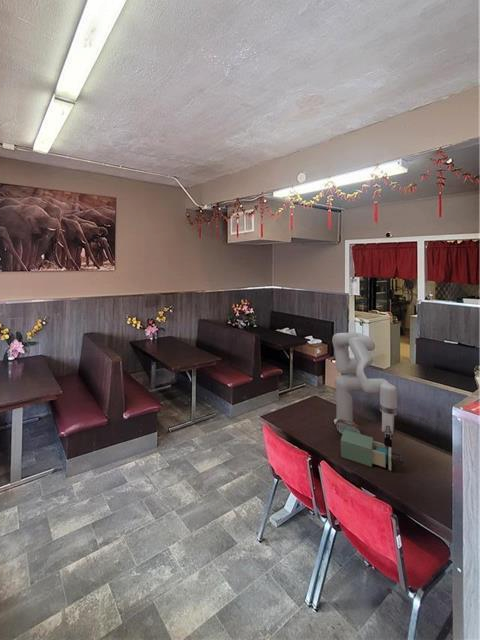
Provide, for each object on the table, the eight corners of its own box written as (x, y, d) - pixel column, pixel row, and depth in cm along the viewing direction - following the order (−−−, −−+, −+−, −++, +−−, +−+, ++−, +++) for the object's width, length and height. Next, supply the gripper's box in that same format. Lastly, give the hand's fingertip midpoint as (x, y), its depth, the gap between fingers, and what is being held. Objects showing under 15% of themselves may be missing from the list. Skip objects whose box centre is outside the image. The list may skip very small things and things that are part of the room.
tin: (363, 440, 180) (363, 425, 180) (361, 442, 178) (361, 428, 178) (336, 430, 190) (336, 416, 190) (335, 432, 188) (335, 418, 188)
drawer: (402, 462, 159) (402, 448, 159) (403, 474, 150) (403, 459, 150) (362, 449, 169) (362, 436, 169) (360, 461, 160) (360, 447, 160)
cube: (376, 455, 163) (376, 445, 163) (387, 458, 160) (387, 449, 160) (375, 460, 159) (375, 450, 159) (387, 463, 156) (387, 454, 156)
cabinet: (373, 454, 167) (373, 437, 167) (371, 467, 156) (371, 449, 157) (343, 445, 175) (343, 429, 175) (340, 456, 164) (340, 439, 165)
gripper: (380, 400, 167) (380, 431, 167) (378, 413, 153) (379, 447, 153) (397, 404, 163) (397, 436, 163) (396, 418, 149) (396, 453, 149)
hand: (388, 441), depth 158 cm, fingers open, 9 cm apart
